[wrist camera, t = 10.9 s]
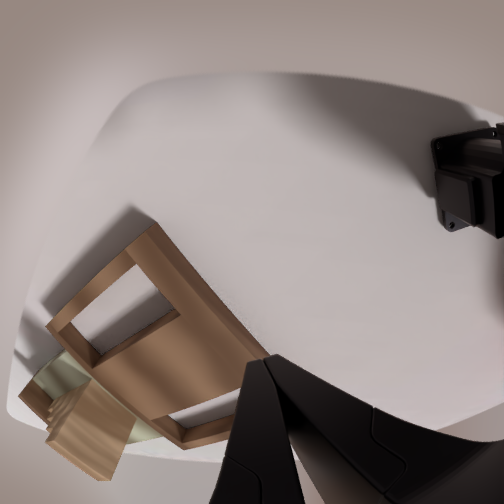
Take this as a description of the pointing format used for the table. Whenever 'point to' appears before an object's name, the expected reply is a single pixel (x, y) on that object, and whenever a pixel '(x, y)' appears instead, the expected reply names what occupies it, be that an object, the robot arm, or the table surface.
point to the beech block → (89, 429)
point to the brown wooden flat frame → (154, 350)
